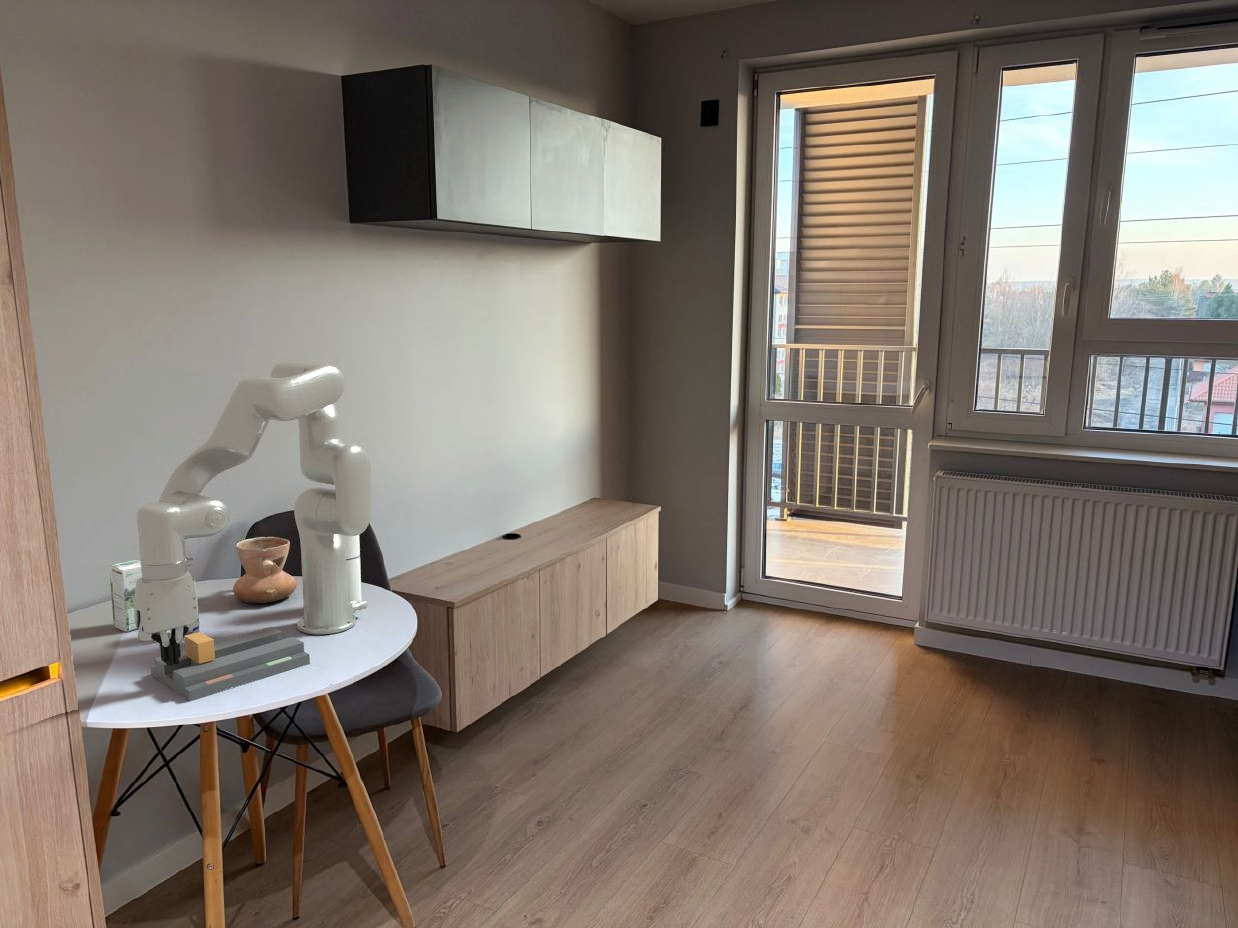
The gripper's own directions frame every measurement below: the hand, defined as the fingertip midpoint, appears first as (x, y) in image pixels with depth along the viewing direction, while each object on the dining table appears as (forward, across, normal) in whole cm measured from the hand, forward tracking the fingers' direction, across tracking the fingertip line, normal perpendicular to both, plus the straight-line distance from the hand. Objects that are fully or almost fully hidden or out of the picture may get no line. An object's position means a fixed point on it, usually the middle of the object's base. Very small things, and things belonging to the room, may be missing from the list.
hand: (171, 662), depth 170 cm
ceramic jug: (+5, -37, -36) cm, 52 cm away
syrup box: (+5, -7, -38) cm, 40 cm away
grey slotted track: (+5, -11, 0) cm, 12 cm away
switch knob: (+3, -5, 0) cm, 6 cm away
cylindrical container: (+5, -47, -16) cm, 50 cm away
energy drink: (+5, -13, -26) cm, 29 cm away
